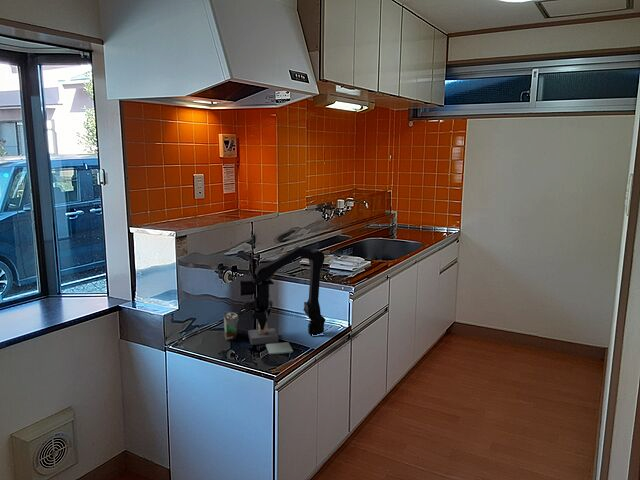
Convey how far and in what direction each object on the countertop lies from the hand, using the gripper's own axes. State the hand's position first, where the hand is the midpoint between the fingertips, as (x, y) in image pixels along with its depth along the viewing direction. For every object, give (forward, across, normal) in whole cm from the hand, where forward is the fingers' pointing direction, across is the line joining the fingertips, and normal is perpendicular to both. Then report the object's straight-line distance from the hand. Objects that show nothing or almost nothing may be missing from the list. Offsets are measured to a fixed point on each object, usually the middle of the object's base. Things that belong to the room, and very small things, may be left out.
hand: (263, 327), depth 221 cm
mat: (+6, +10, +9) cm, 14 cm away
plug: (+4, 0, 0) cm, 4 cm away
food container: (+6, -2, -15) cm, 16 cm away
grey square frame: (+6, 0, 0) cm, 6 cm away
